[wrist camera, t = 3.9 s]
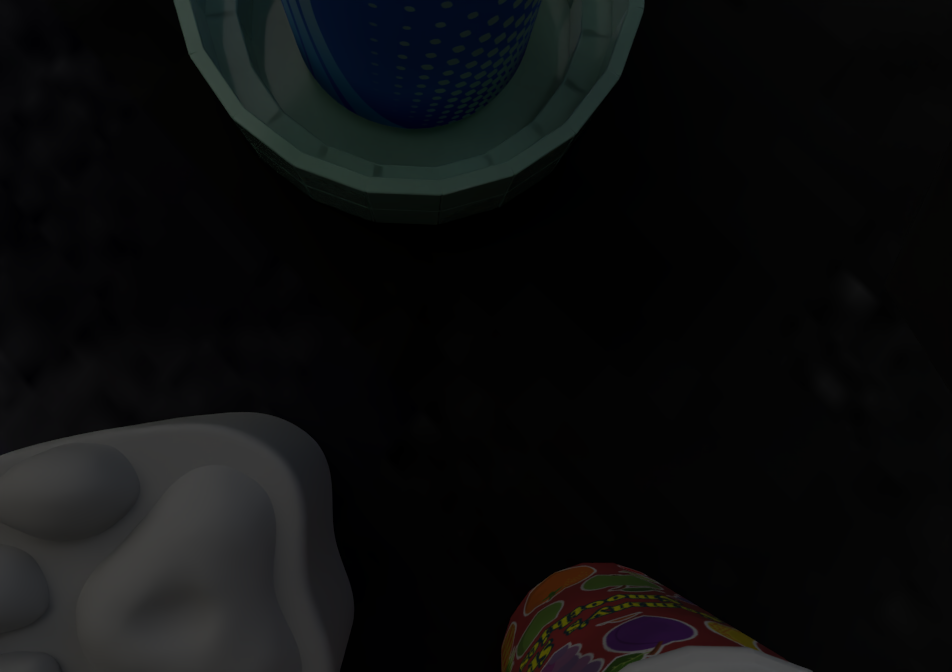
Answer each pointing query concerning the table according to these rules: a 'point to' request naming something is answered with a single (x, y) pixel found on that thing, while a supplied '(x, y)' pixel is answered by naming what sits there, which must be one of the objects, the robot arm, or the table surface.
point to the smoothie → (624, 629)
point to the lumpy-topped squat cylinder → (172, 551)
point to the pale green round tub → (410, 150)
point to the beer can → (412, 54)
